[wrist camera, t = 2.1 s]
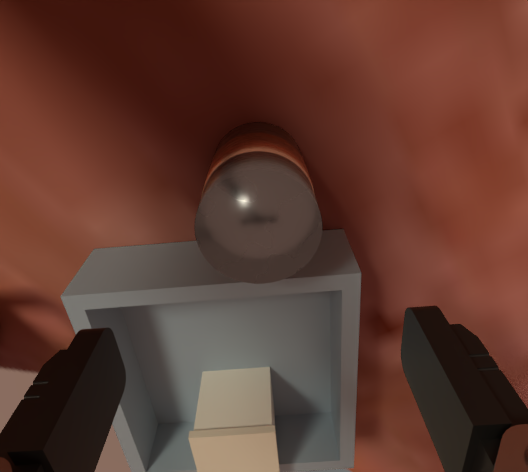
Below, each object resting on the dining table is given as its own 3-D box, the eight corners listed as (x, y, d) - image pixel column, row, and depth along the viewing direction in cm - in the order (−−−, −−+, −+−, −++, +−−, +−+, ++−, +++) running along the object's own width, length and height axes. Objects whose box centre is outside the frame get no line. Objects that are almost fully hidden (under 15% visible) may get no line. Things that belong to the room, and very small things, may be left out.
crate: (93, 249, 26) (60, 296, 21) (343, 228, 25) (361, 273, 21) (151, 422, 34) (135, 482, 30) (341, 408, 34) (353, 467, 29)
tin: (206, 125, 22) (182, 175, 15) (301, 117, 22) (322, 163, 15) (219, 212, 25) (204, 289, 18) (305, 204, 25) (324, 279, 18)
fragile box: (202, 371, 30) (193, 432, 25) (269, 366, 30) (271, 427, 25) (212, 416, 32) (205, 479, 28) (274, 411, 32) (277, 474, 28)
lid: (189, 430, 25) (188, 438, 25) (274, 425, 25) (275, 432, 25) (202, 480, 28) (201, 488, 27) (280, 475, 28) (280, 483, 27)
